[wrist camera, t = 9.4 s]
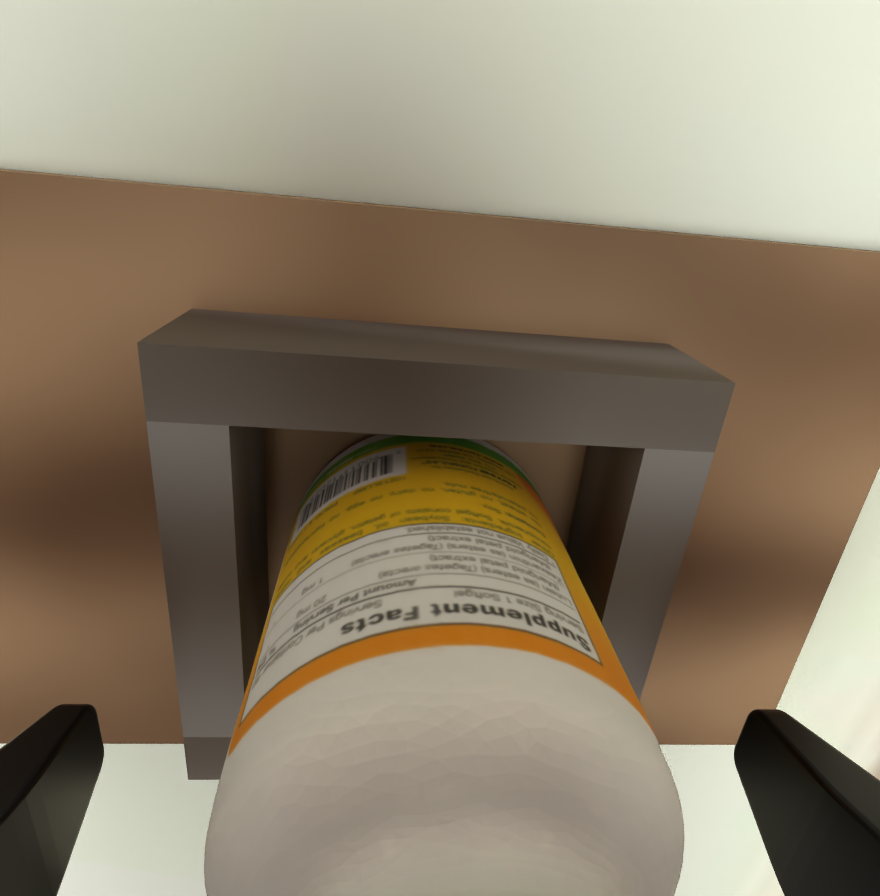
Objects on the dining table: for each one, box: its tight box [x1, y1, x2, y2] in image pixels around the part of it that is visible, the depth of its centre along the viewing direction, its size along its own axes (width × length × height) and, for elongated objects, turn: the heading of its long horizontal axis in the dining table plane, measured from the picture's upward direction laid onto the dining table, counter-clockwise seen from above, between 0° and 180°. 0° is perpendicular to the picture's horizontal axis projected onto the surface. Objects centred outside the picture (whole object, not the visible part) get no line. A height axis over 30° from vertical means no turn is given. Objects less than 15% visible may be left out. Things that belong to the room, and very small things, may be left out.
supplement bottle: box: [204, 434, 684, 896], centre depth 9 cm, size 5×5×10 cm
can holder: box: [0, 169, 880, 780], centre depth 12 cm, size 13×20×4 cm, turn 85°
